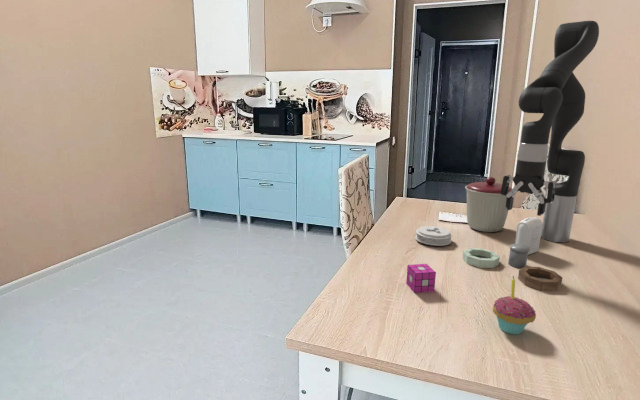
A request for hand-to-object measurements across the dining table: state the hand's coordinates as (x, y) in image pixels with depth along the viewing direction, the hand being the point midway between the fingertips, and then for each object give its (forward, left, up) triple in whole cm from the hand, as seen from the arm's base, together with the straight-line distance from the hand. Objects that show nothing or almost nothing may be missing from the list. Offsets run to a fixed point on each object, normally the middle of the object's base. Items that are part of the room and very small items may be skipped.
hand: (524, 212), depth 117 cm
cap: (-1, 0, -17) cm, 17 cm away
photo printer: (-14, -2, -18) cm, 22 cm away
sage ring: (+5, -9, -17) cm, 20 cm away
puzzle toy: (+35, -12, -18) cm, 41 cm away
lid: (0, -29, -18) cm, 34 cm away
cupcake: (+37, +13, -18) cm, 43 cm away
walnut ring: (+7, +9, -17) cm, 21 cm away
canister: (-29, -23, -18) cm, 41 cm away
